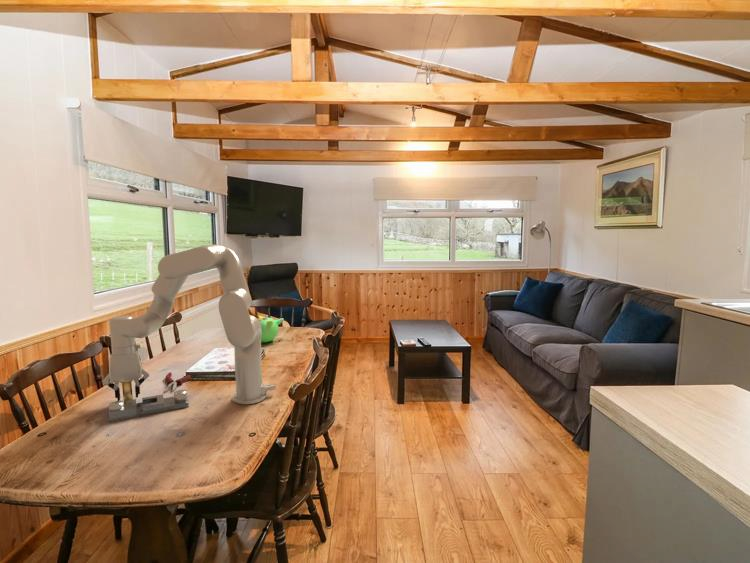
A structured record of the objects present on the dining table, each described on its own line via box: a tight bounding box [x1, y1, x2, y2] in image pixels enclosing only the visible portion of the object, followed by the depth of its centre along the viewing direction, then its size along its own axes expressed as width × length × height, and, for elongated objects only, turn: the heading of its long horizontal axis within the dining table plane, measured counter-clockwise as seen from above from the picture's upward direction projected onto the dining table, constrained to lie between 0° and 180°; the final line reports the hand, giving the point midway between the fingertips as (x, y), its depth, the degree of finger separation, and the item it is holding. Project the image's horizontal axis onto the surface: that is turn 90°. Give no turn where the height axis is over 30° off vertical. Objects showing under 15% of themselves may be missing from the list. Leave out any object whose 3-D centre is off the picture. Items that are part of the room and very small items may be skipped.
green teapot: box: [256, 315, 285, 344], centre depth 233 cm, size 18×17×15 cm
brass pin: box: [119, 380, 134, 401], centre depth 153 cm, size 4×4×9 cm
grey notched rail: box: [108, 389, 190, 423], centre depth 147 cm, size 24×9×4 cm, turn 119°
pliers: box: [164, 372, 191, 393], centre depth 172 cm, size 12×20×3 cm, turn 11°
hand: (128, 397), depth 153 cm, fingers open, 5 cm apart
